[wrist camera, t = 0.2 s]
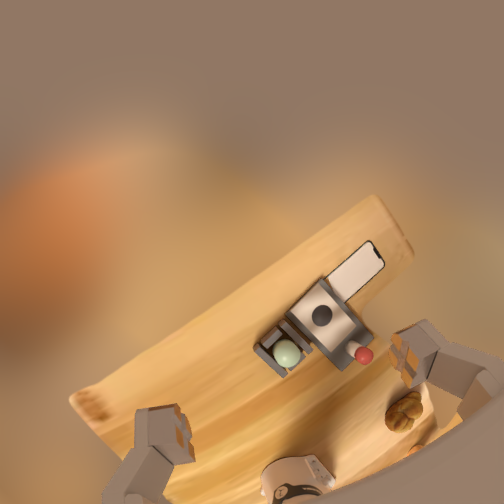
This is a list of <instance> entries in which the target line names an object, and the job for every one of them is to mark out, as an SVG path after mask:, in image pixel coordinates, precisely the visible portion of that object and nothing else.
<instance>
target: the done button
mask: <svg viewBox="0 0 504 504" xmlns="http://www.w3.org/2000/svg"><path fill="white" fill-rule="evenodd" d="M272 352H273V356H274V357H275V359H276V361H277V362H278V364H279V365H280V366H282V367H286V368H288V367H292V366H294V365H296V364H297V363H298V361H299V359H300V350H299V349H298V347H297V346H296V345H295V344H294V343H293V342H292V341H291V340H288V339H282V340H279V341H278V342H276V343H275V345H274V346H273V350H272Z"/></svg>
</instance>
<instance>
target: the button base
mask: <svg viewBox="0 0 504 504" xmlns="http://www.w3.org/2000/svg"><path fill="white" fill-rule="evenodd" d="M278 324H279V325H280V327H281V328H282V329H283V330H284V331H285V332H286V333H287V334H288V335H289V336H290V337H291V338H292V339H293V340H294V341H295V342H296V343H297V344H298V345H299V346H300V347H301V348H302V349H303V350H305V351H306V352H307V353H308V354H310V353H311V352H312V351H313V349H312V348H311V347H310V346H309V345H308V344H307V342H306V341H305V340H304V339H303V338H302V337H301V336H300V335H299V334H298V333H297V332H296V331H295V330H294V329H293V328H292V327H291V326H290V325H289V324H288V323H287V322H286V321H285V320H284V319H282V320H281V321H280V322H279V323H278ZM282 335H283V334H282V333H281V331H280V330H279V329H278V328H277V327H276V326H275V327H274V328H273V329H272V330H271V331H270V332H269V333H268V334H267V335H266V336H265V337H263V338H262V339H261V340H260V341H261V343H262V345H263V346H264V347H266V348H267V349H268V348H269V347H270V346H271V345H272V344H273V343H274V342H275V341H276V340H277V339H278V338H279V337H281V336H282ZM253 350H254V352H255V353H256V354H257V355H258V356H259V357H261V358H262V359H263V360H264V361H265V362H266V363H267V364H268V365H269V366H270V367H271V368H272V369H273V370H275V371H276V372H277V373H278V374H279V375H280V376H281V377H282V378H284V377H285V376H286V375H287V374H288V372H287V371H286V369H285V368H284V367H282V366H280V365H279V364H278V362H277V361H276V360H275V359H274V358H273V357H272V356H271V355H270V354H269V353H268V352H267V351H266V350H265V349H264V348H263V347H262V346H260V345H259V344H258V343H257V344H256V345H255V346H254V347H253ZM305 357H306V356H305V355H304V354H303V353H302V352H301V351H300V359H299V361H298V363H297V364H296V365H294V366H292V367H288V369H289V370H290V371H292V370H293V369H294V368H295V367H296V366H297V365H298V364H299V363H300V362H301V361H302V360H303V359H304V358H305Z"/></svg>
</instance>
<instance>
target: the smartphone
mask: <svg viewBox="0 0 504 504" xmlns="http://www.w3.org/2000/svg"><path fill="white" fill-rule="evenodd" d="M384 266H385V262H384V260H383V259H382V257H381V255H380V254H379V252H378V251H377V249H376V248H375V246H374V245H373V243H372V242H371V241H366V242H365V243H364V244H363V245H362V246H361V247H359V248H358V249H357V250H356V251H355V252H354V253H353V254H351V255H350V256H349V257H348V258H347V259H346V260H345V261H343V262H342V263H341V264H340V265H339V266H338V267H337V268H335V269H334V270H333V271H332V272H331V273H330V274H329V275H327V276H326V277H325V278H327V277H328V279H329V281H330V284H331V286H332V289H333V291H334V292H335V294H336V295H337V296H338V297H339V298H340V299H341V300H342V301H343V303H345V302H346V301H348V300H349V299H350V298H351V297H352V296H353V295H354V294H356V293H357V292H358V291H359V290H360V289H361V288H362V287H363V286H364V285H366V284H367V283H368V282H369V281H370V280H371V279H372V278H373V277H374V276H375V275H376V274H378V273H379V272H380V271H381V270H382V269H383V268H384ZM325 278H324V279H325ZM324 279H323V280H324Z"/></svg>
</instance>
